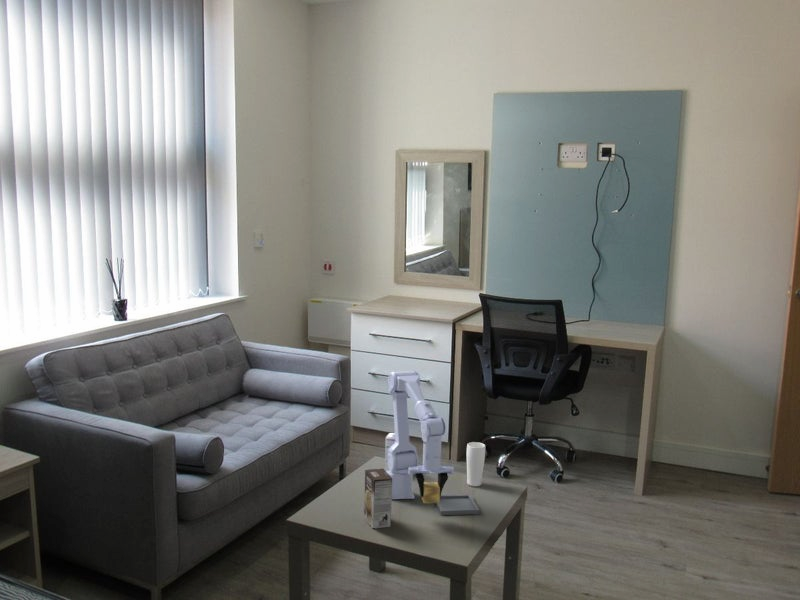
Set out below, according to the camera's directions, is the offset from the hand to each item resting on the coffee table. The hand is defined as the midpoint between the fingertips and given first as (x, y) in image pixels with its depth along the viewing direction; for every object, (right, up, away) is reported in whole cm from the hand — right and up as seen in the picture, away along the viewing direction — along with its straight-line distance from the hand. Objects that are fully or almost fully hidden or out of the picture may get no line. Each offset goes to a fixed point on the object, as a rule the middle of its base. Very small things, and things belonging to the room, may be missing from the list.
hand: (430, 495), depth 230 cm
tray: (+9, -7, +12) cm, 17 cm away
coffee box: (-17, -8, -1) cm, 19 cm away
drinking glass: (+17, -5, +33) cm, 37 cm away
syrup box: (-12, -3, +42) cm, 44 cm away
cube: (0, -2, 0) cm, 2 cm away
